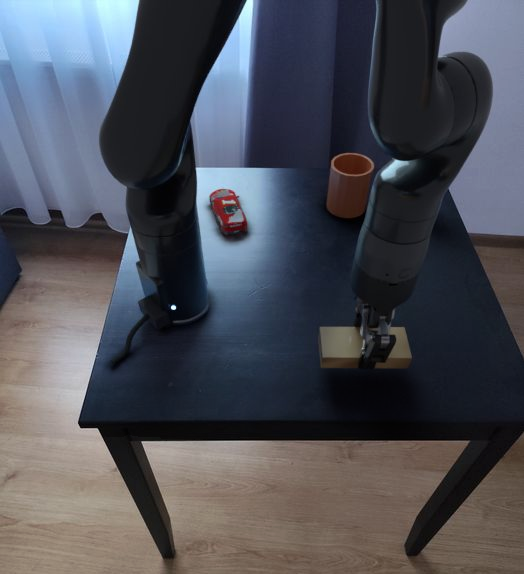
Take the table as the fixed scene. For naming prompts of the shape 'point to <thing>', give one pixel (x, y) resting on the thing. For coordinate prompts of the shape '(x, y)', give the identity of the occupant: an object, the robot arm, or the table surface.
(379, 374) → the table surface
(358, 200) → the cup
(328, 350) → the block
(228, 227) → the race car
